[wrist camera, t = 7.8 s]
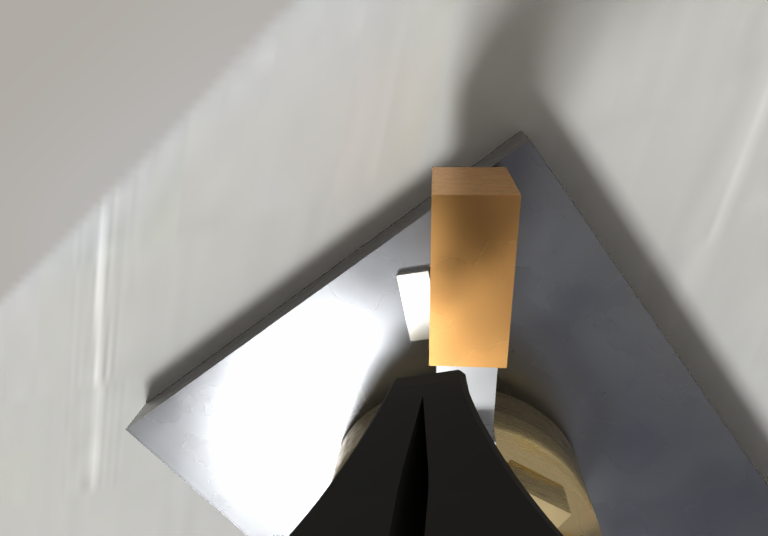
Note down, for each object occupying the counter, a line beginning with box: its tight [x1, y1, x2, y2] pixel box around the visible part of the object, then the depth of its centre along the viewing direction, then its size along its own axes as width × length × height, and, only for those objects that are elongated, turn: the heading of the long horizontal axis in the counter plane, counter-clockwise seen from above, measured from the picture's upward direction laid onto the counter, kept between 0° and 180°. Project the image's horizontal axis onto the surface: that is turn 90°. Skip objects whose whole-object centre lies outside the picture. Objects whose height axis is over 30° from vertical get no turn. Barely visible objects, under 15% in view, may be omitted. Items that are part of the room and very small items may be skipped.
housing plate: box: [126, 131, 768, 536], centre depth 20 cm, size 18×18×2 cm
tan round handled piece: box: [331, 167, 602, 536], centre depth 16 cm, size 16×9×4 cm, turn 1°
